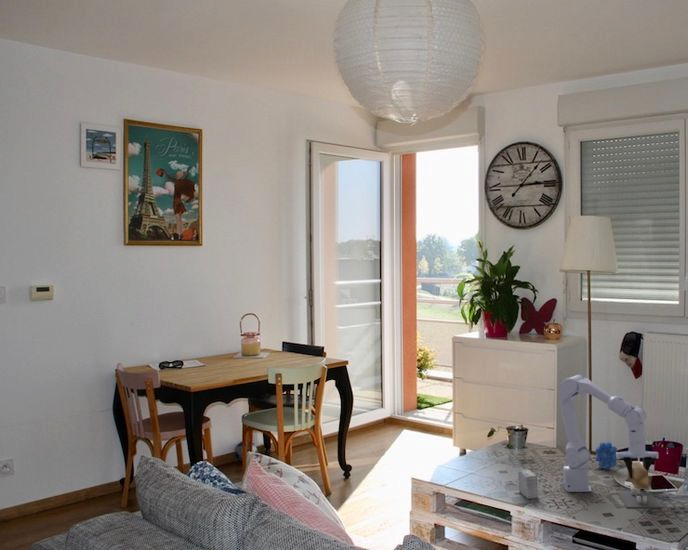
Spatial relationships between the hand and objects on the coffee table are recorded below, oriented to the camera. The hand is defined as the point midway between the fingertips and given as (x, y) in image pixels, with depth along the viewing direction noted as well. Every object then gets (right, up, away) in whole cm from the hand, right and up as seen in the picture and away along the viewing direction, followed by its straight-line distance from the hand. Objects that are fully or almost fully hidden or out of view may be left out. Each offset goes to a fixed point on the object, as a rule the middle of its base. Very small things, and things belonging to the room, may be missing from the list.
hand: (638, 477), depth 270 cm
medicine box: (-37, -10, +12) cm, 40 cm away
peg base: (+1, -9, 0) cm, 8 cm away
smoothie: (+5, -8, +13) cm, 16 cm away
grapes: (+3, -7, +37) cm, 38 cm away
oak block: (0, -2, 0) cm, 2 cm away
